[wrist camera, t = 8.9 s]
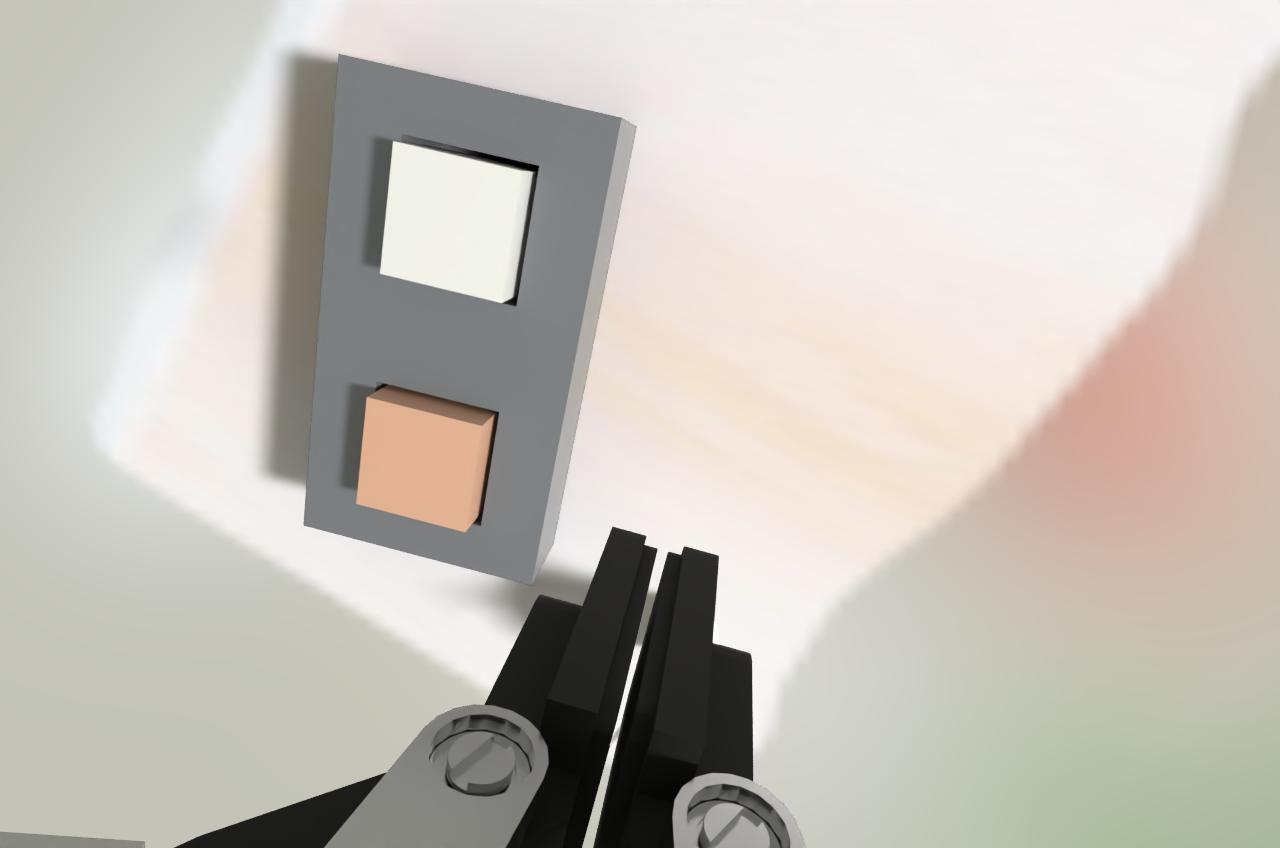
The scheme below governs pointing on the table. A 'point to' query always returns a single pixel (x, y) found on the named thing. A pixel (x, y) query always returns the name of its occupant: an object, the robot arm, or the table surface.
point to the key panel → (462, 309)
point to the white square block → (457, 221)
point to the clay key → (426, 457)
